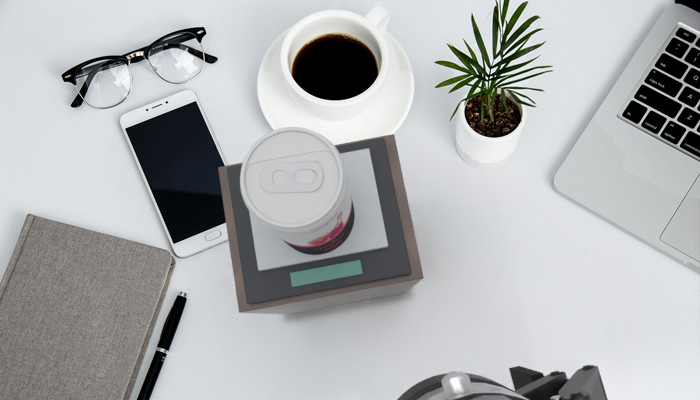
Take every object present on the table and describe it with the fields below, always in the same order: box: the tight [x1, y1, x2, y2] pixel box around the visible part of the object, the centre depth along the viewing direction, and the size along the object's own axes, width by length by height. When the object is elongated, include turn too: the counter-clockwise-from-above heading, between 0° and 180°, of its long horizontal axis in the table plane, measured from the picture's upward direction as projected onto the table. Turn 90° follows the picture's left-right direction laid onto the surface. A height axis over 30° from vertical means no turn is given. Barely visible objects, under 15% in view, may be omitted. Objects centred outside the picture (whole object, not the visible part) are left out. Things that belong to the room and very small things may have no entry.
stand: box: [217, 133, 425, 315], centre depth 69 cm, size 13×16×32 cm
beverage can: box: [240, 126, 355, 255], centre depth 44 cm, size 6×7×15 cm
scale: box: [227, 138, 412, 305], centre depth 52 cm, size 12×14×2 cm
